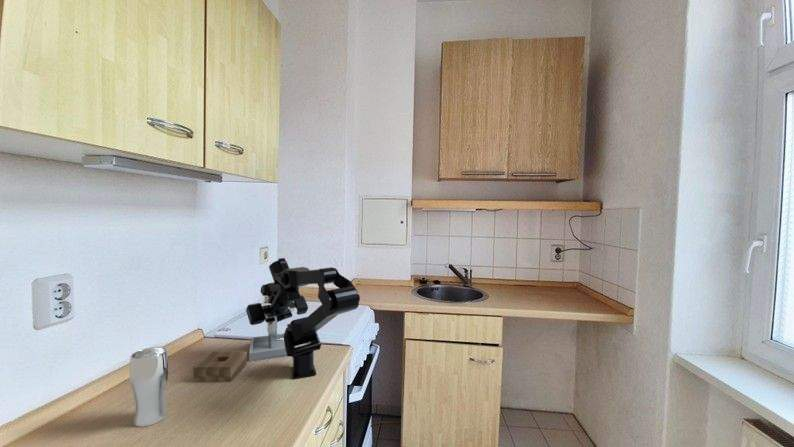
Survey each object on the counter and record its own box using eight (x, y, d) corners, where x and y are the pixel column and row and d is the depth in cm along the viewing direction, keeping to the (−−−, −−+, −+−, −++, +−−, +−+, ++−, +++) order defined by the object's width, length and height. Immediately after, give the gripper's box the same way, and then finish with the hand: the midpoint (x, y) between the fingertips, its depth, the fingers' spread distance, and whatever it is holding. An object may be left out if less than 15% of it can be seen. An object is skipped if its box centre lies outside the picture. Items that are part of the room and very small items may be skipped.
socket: (246, 364, 101) (246, 351, 101) (230, 381, 91) (230, 367, 91) (213, 364, 101) (213, 351, 101) (193, 381, 91) (193, 367, 91)
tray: (296, 354, 108) (296, 347, 108) (249, 361, 103) (249, 353, 103) (293, 339, 121) (293, 332, 121) (251, 344, 116) (251, 337, 116)
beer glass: (162, 425, 72) (161, 357, 72) (124, 431, 70) (122, 361, 70) (174, 407, 79) (172, 344, 78) (139, 411, 77) (137, 348, 76)
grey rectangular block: (276, 347, 112) (277, 315, 111) (272, 348, 111) (272, 316, 110) (271, 343, 115) (272, 312, 114) (267, 344, 114) (267, 313, 113)
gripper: (303, 272, 114) (289, 298, 123) (247, 279, 102) (236, 307, 110) (315, 299, 109) (300, 324, 117) (257, 310, 96) (244, 337, 105)
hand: (271, 322), depth 113 cm, fingers closed on grey rectangular block, 2 cm apart
